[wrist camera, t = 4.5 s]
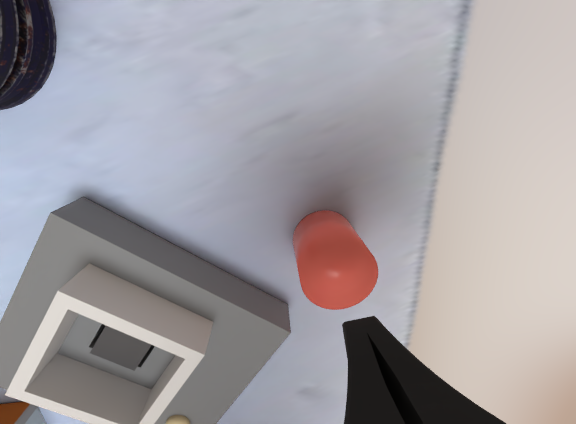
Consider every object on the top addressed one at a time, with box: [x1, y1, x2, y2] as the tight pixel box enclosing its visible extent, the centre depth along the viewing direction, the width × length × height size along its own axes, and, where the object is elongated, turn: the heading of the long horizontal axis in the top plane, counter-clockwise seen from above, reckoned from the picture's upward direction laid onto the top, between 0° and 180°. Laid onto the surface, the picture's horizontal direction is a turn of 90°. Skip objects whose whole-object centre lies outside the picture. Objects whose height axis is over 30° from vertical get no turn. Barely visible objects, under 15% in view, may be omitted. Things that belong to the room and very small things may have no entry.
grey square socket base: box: [0, 197, 291, 424], centre depth 19 cm, size 16×14×6 cm
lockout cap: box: [293, 210, 378, 310], centre depth 18 cm, size 4×4×5 cm
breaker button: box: [90, 326, 151, 371], centre depth 20 cm, size 3×3×4 cm
